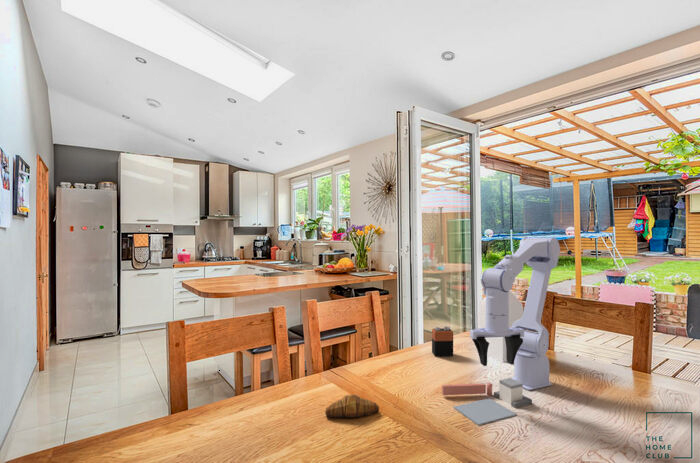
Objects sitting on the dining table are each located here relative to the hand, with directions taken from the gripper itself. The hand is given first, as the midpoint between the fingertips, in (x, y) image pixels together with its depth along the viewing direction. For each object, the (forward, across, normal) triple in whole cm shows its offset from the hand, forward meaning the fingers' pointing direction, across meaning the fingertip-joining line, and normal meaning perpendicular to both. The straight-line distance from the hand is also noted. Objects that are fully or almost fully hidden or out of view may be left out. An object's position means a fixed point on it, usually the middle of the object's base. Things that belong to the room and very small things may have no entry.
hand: (496, 363), depth 98 cm
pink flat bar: (+10, +7, -3) cm, 12 cm away
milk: (+10, -20, -33) cm, 40 cm away
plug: (+10, -4, +1) cm, 10 cm away
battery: (+10, +1, -35) cm, 37 cm away
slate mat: (+10, +7, +6) cm, 13 cm away
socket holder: (+10, -4, +1) cm, 10 cm away
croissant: (+10, +40, +2) cm, 41 cm away
